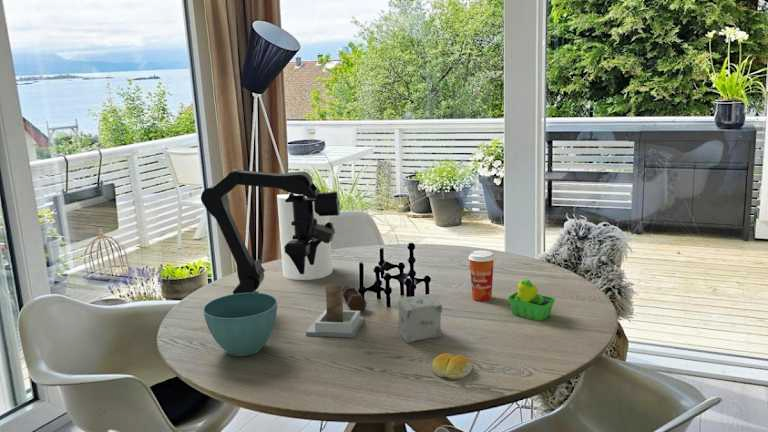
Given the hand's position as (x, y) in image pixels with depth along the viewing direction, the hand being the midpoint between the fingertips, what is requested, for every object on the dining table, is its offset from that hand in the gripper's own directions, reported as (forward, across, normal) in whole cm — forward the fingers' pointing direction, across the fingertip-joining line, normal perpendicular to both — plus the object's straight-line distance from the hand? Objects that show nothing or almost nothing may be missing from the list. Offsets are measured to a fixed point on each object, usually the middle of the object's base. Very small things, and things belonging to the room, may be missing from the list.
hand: (307, 269), depth 197 cm
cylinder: (+13, +38, +13) cm, 42 cm away
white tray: (+13, -12, -11) cm, 21 cm away
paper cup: (+13, +16, -49) cm, 53 cm away
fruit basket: (+13, +3, -63) cm, 64 cm away
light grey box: (+13, -15, -35) cm, 40 cm away
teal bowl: (+13, -28, +9) cm, 32 cm away
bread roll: (+14, -34, -45) cm, 59 cm away
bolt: (+14, +8, -11) cm, 19 cm away
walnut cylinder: (+12, -12, -11) cm, 20 cm away
